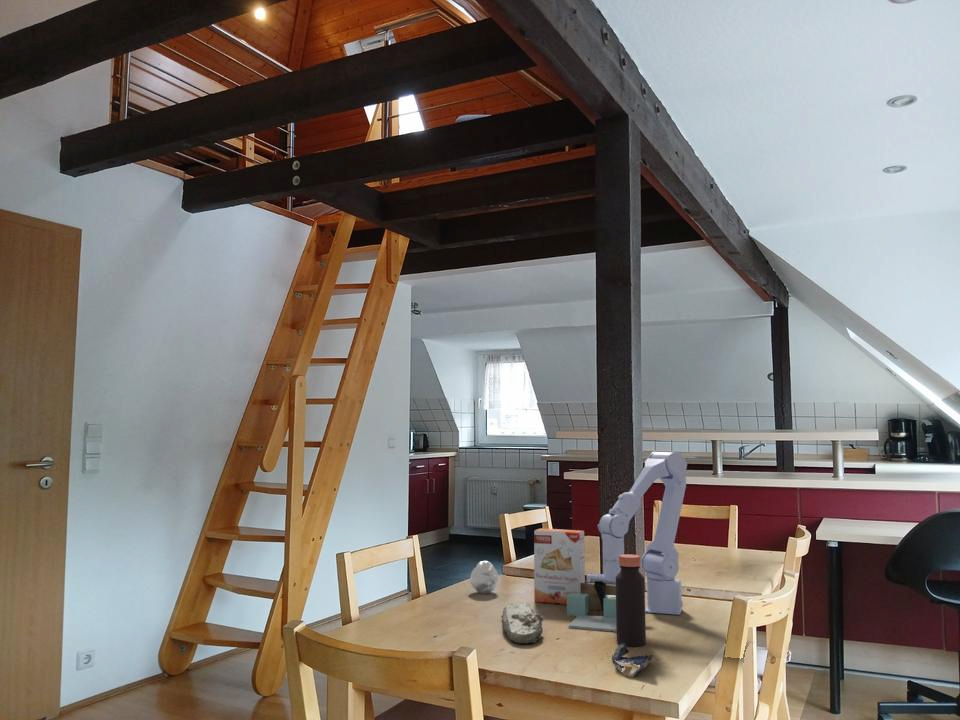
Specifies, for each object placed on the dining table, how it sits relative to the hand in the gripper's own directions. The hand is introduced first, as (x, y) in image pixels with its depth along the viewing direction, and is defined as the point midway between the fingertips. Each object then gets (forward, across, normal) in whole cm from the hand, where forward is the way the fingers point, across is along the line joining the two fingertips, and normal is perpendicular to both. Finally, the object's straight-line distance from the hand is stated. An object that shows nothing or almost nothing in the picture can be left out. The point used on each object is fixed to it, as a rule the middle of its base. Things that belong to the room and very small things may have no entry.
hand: (614, 611), depth 200 cm
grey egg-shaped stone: (+2, -43, +17) cm, 46 cm away
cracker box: (+2, -18, +12) cm, 22 cm away
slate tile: (+1, -3, -10) cm, 11 cm away
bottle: (+2, +8, -25) cm, 26 cm away
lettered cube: (+1, 0, 0) cm, 1 cm away
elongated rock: (+2, -21, -19) cm, 28 cm away
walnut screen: (+1, -4, +6) cm, 8 cm away
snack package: (+2, +11, -44) cm, 45 cm away
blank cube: (+2, -10, 0) cm, 10 cm away
